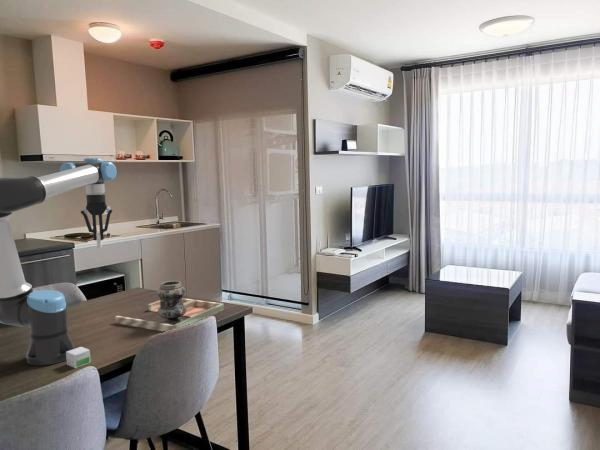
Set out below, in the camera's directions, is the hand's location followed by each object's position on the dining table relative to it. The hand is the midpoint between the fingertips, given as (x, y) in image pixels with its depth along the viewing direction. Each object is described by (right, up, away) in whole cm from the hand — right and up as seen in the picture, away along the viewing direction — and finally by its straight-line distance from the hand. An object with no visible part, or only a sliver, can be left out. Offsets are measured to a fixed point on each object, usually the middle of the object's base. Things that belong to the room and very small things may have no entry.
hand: (99, 247), depth 203 cm
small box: (+12, -38, -45) cm, 60 cm away
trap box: (+30, -31, +6) cm, 44 cm away
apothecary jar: (+34, -33, -4) cm, 47 cm away
